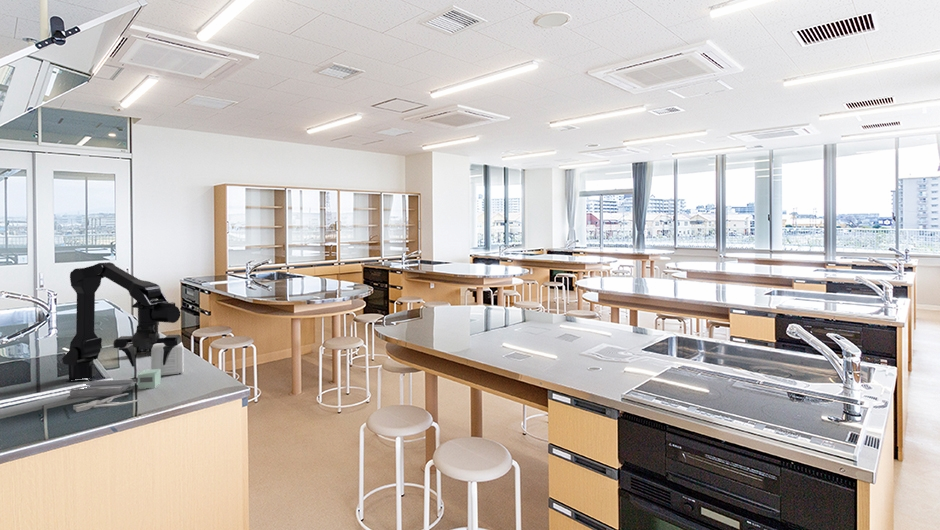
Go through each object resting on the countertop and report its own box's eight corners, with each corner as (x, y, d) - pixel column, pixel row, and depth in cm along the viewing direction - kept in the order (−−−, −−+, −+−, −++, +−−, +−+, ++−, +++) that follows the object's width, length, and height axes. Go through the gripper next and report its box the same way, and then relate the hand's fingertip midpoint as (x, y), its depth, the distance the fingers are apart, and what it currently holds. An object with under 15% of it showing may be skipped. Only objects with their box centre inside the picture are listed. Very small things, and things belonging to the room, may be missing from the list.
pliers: (139, 397, 151) (79, 410, 139) (139, 402, 151) (79, 416, 139) (127, 390, 157) (69, 402, 145) (127, 394, 157) (69, 407, 145)
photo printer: (183, 370, 183) (183, 338, 182) (184, 373, 179) (183, 341, 178) (151, 374, 177) (150, 341, 176) (151, 377, 173) (150, 344, 172)
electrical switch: (161, 352, 207) (160, 331, 206) (159, 356, 203) (158, 335, 201) (134, 354, 203) (133, 333, 201) (132, 358, 198) (131, 337, 197)
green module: (137, 389, 161) (137, 375, 161) (144, 383, 167) (144, 369, 167) (154, 388, 163) (154, 374, 162) (160, 382, 169) (160, 368, 168)
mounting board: (67, 398, 151) (67, 392, 151) (86, 385, 163) (86, 379, 163) (119, 395, 155) (119, 389, 155) (134, 382, 167) (134, 377, 167)
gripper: (105, 326, 153) (106, 374, 154) (172, 324, 158) (172, 371, 159) (119, 319, 163) (120, 364, 165) (181, 318, 169) (182, 361, 170)
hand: (149, 365), depth 164 cm, fingers open, 9 cm apart
